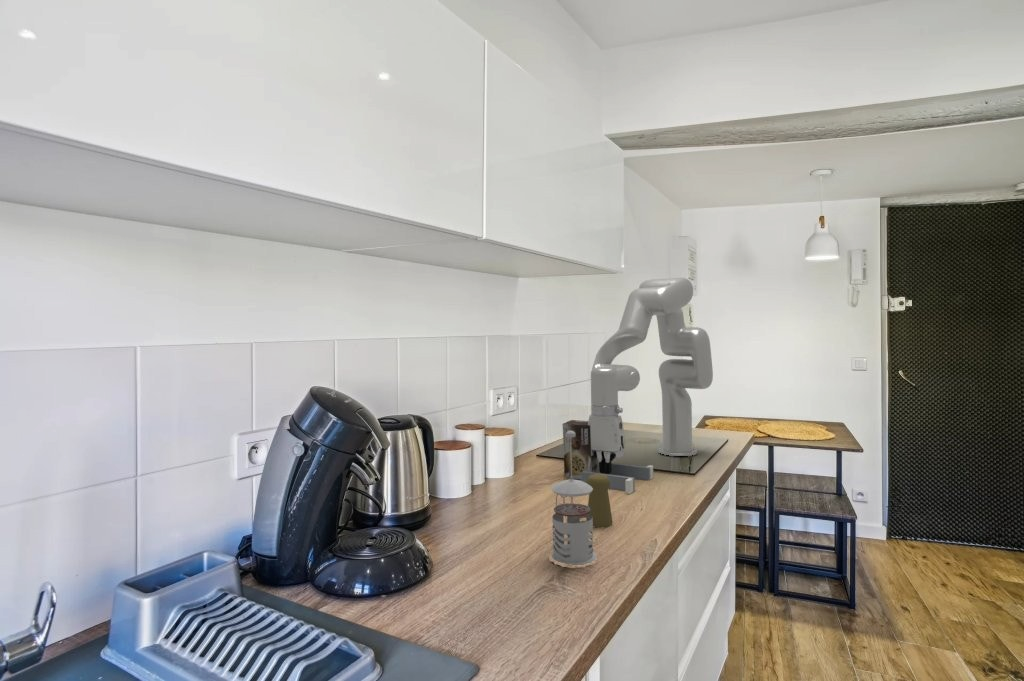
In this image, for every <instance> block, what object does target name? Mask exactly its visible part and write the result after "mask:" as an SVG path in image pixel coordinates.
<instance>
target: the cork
mask: <svg viewBox="0 0 1024 681" xmlns="http://www.w3.org/2000/svg"><path fill="white" fill-rule="evenodd" d="M587 484H588V485H590V486H591V487H592V488H593V490H592V492H591V493H590V494H588V499H587V500H588V501H587V506H589V508H590V509H591V510H590V512H589V514H591V515H592V517H593V526H595V527H594V528H597V527H604V528H608V527H607V526H609V527H611V526H612V525H613V524H614V522H613V516H612V510H611V501H610V496H609V489H610V488H609V487H610V479H609V477H608V476H606V475H603V474H593V475H590V476H589V477H588V479H587ZM585 519H586V520H585V521H589V520H590V519H589V518H585ZM612 523H613V524H612ZM610 525H611V526H610Z"/></svg>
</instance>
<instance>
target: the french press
mask: <svg viewBox="0 0 1024 681" xmlns="http://www.w3.org/2000/svg"><path fill="white" fill-rule="evenodd" d="M566 437H570V459H571V478H569V479H564V480H561V481H559V482H557V483H554V484H553V485H552V486H551V487H550V489H551V491H552V493H554V494H556V497H555V507H554V508H553V510H554V512H555V513H553V515H552V518H551V520H552V521H551V522H552V537H553V538H552V552H551V553H550V554H551V556H552V558H553V559H554V560H556V561H558V562H561V563H565V564H572V565H584V564H587V563H591V562H592V561H594V560H595V559H596V555H597V554H596V552H594V536H593V532H594V527H593V517H592V515H591V514H589V512H590V510H591V509H590V508H589V506H588V505H586V504H583V503H582V504H581V503H577V502H576V503H574V501H573V499H574V498H573V497H583V496H587V495H588V496H589V494H590V493H591V492H592V490H593V488H592V487H591V486H590V485H588V484H587V483H585V482H583V481H582V480H581V479H572V446H571V437H575V432H574V431H567V432H566ZM558 495H559V496H560V497H561V498H563V503H560V504H558V497H559V496H558ZM568 497H571V498H570V500H571V501H570V502H568V503H566V502H565V498H568ZM583 518H585V519H586V518H589V519H590V520H589V521H586V520H581V521H580V519H583ZM564 519H565V520H564ZM564 521H566V522H564ZM589 533H590V534H589ZM565 535H567V537H565ZM589 539H590V540H589ZM565 542H566V543H567V544H565Z"/></svg>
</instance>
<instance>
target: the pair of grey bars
mask: <svg viewBox="0 0 1024 681" xmlns="http://www.w3.org/2000/svg"><path fill="white" fill-rule="evenodd" d="M611 467H612V471H611V473H610V474H603V475H606V476H608V477H609V479H610V487H609V489H610V490H611V489H612V490H619V491H625V494H626V495H627V494H628V495H631V494H632V493H633V492H635V491H636V481H635V480H642V481H648V480H649V481H651V480H652V479H653V478H654V465H650V464H648V465H646V466H642V465H632V464H626V463H625V464H624V463H623V464H622V463H615V462H611ZM593 474H602V473H601V472H600V473H595V472H587V471H583V472H582V480H581V481H583V482H585V483H587V479H588V477H589V476H590V475H593ZM650 479H651V480H650Z"/></svg>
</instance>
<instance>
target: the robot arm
mask: <svg viewBox="0 0 1024 681" xmlns="http://www.w3.org/2000/svg"><path fill="white" fill-rule="evenodd" d="M693 296H694V287H693V284H692V282H691V281H690V280H689V278H686V277H685V278H684V277H673V278H671V277H669V278H655V279H653V278H652V279H649V280H644V281H643V282H641V283H640V285H639V287H638V288H635V289H634V290H632V291H631V292H630V293H629V295H628V298H627V302H626V305H625V306H624V310H623V313H622V317H621V319H620V320H621V321H620V324H619V327H618V330H617V331H616V332H615V333H613V335H611V336H610V337H609V338H608V339H607V340H606V341H605V342H604V343H603V344H602V345H601V347H600V348H599V350H598V351H597V353H596V355H595V358H594V362H593V364H592V365H593V366H592V368H591V371H590V404H591V405H590V412H591V414H590V415H589V416H588V420H587V421H588V425H590V432H591V449H592V450H594V455H595V457H596V458H597V459H598V461H599V463H600V472H601V473H602V474H610V473H611V471H612V467H611V463H612V462H613V460H614V459H616V458H620V457H623V456H625V455H624V454H625V453H624V449H625V447H626V445H625V444H626V441H625V440H626V439H625V438H626V437H625V430H624V425H623V424H624V423H623V418H622V415H619V414H622V413H623V410H624V408H622V407H620V406H619V394H618V393H619V392H630V391H633V390H634V389H636V388H637V387H638V385H639V384H640V380H641V375H640V372H639V371H638V369H637V368H635V367H634V366H631V365H629V364H613V361H614V360H615V358H616V357H618V356H619V355H620V354H621V353H624V352H625V351H627V350H629V349H631V348H633V347H635V346H637V345H640V344H641V343H644V341H645V340H646V338H647V336H648V332H649V330H650V329H649V328H650V324H651V321H652V319H653V316H655V317H656V321H657V322H656V323H657V327H658V328H657V329H658V336H659V337H658V338H659V345H660V349H661V352H662V353H663V354H664V355H666V356H669V357H671V356H672V357H690V358H691V359H687V358H685V359H684V358H681V359H680V358H670V359H666V360H664V361H663V362H661V364H660V365H659V367H658V378H659V383H660V388H661V397H662V398H661V401H662V403H661V405H662V406H661V408H662V409H661V411H662V413H661V414H662V446H661V447H658V449H657V450H658V454H660V453H661V454H660V455H662V454H664V455H663V456H666V455H669V456H668V457H673V456H688V457H693V456H696V455H697V454H698V450H697V448H695V447H693V416H692V415H693V414H692V413H693V412H692V411H693V409H692V408H693V405H692V404H693V403H692V399H691V396H690V394H689V392H688V391H687V389H693V390H705V389H708V388H710V387H711V385H712V382H713V378H714V371H713V370H714V369H713V362H712V350H711V342H710V336H709V335H708V333H707V331H706V330H705V329H703V328H701V327H696V326H693V327H692V326H691V327H687V326H686V324H685V318H684V312H683V310H682V308H683V307H685V306H687V305H688V304H689V303H691V300H692V298H693ZM605 453H606V454H605ZM692 455H693V456H692Z"/></svg>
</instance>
